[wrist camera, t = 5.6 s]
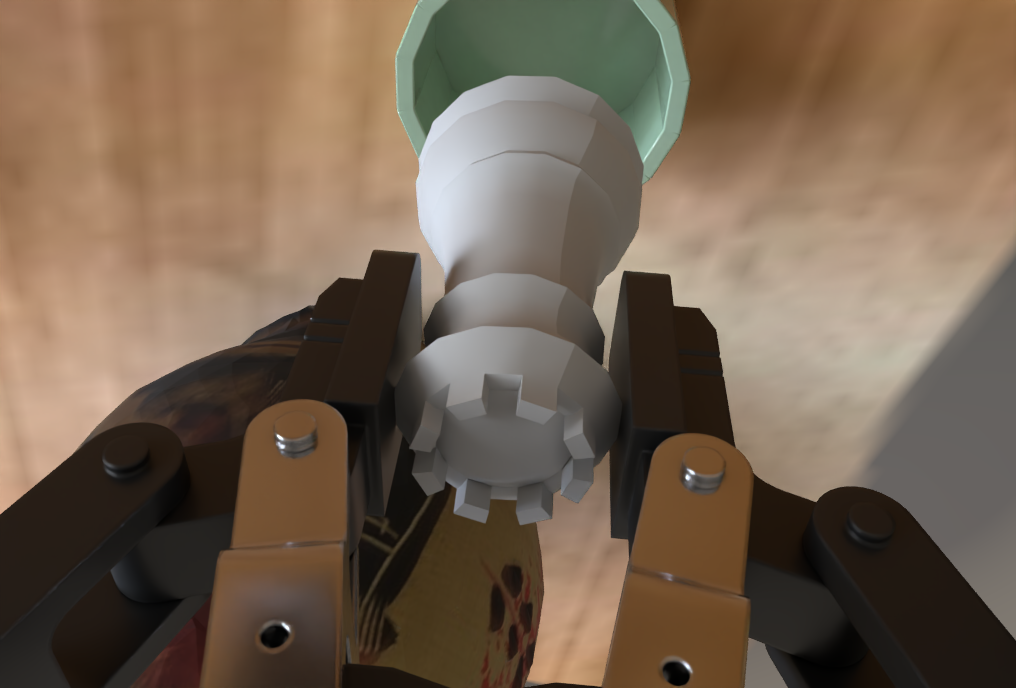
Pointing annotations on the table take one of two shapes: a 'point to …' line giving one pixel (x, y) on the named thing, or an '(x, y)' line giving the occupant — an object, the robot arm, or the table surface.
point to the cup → (549, 60)
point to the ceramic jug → (369, 538)
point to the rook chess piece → (519, 294)
